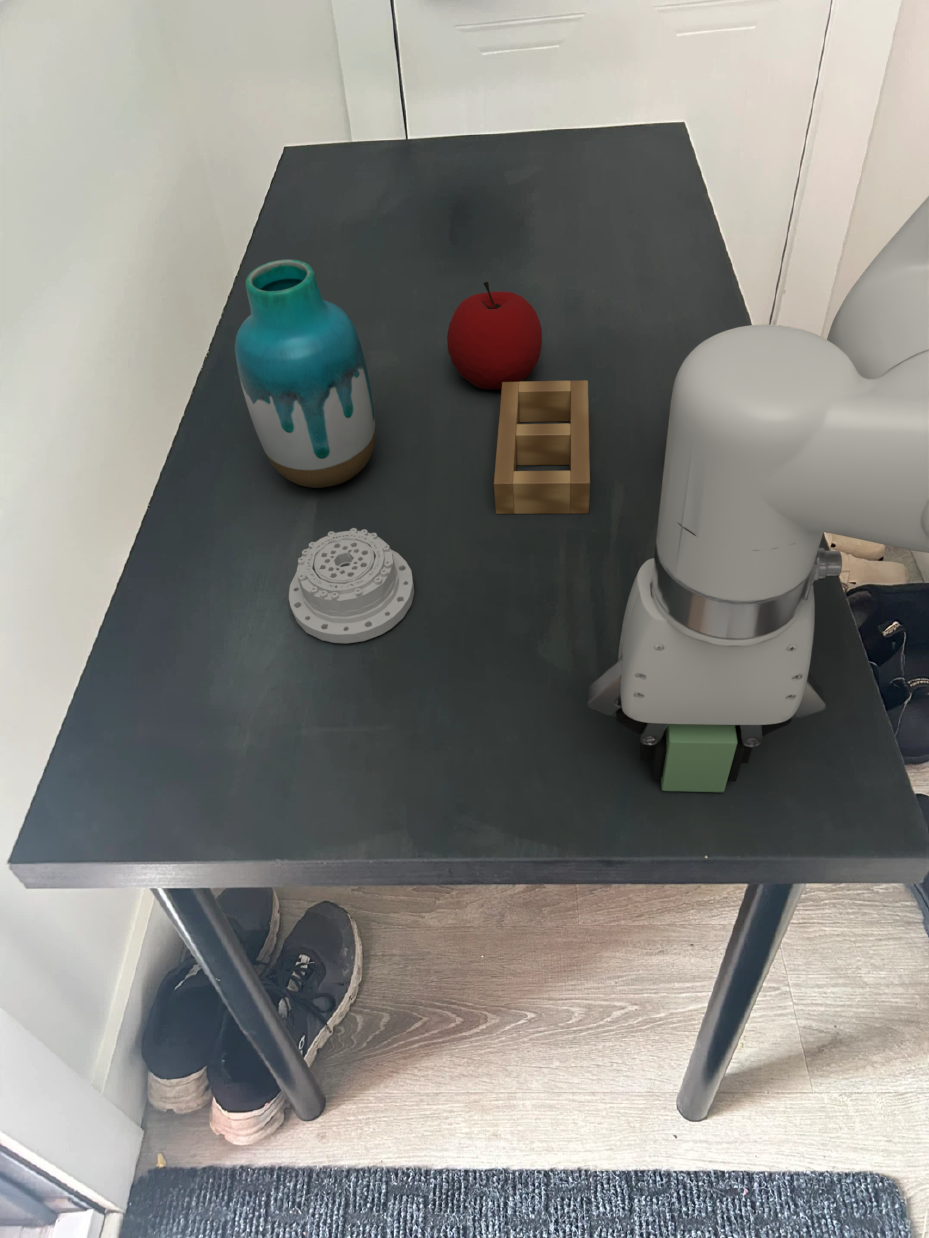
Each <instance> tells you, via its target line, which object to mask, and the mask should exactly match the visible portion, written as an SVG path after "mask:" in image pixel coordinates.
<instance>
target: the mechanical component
mask: <svg viewBox="0 0 929 1238" xmlns="http://www.w3.org/2000/svg"><path fill="white" fill-rule="evenodd" d="M414 596H415V585H414V578H413V571H412V569H411V567H410V565H409V564H408V562H407V560H405V559H404V558H403V557H402V555H400V553H399V552H397V551H394V550H393V549H391V546H390V545H389V544H388V543H387V542H386V541H384V540H383V539H382V538H381V537H379V536H378V534H377V533H376V532H368V530H367V529H365V528H364V529H361V530H358V529H357V528H356V527H352V528H350V529H349V530H344V531H338V532H335V531H331V530H330V531H329V532H327V535H326V536H323V537H321V538H319V539H318V540H316V541H311V542H309V543H308V548H306V549H305V548H304V549H303V550H301V557H299V558H297V568H296V572H295V574H294V576H293V578H292V580H291V582H290V585H289V589H288V601H289V605H290V609H291V611H292V614H293V616H294V619H295V621H296V624H298V625H299V626H300V628H301V629H302V630H303V631H304V632H305V633H306V634H308V635H310V636H312V637H314V638H316V639H319V640H320V641H323V642H328V643H332V644H333V643H334V644H352V643H359V642H365V641H368V640H371V639H373V638H377V637H378V636H379V637H380V636H381V635H383V634H385V633H386V632H388V631H390V630H391V629H393V628H394V627H395V626H396V625H397V624H399V622H400V621H402V620H403V619H404V618H405V616H406V614H407V613H408V611H409V610H410V608H411V606H412V604H413V600H414Z"/></svg>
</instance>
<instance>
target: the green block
mask: <svg viewBox="0 0 929 1238" xmlns="http://www.w3.org/2000/svg"><path fill="white" fill-rule="evenodd" d="M665 734H666V747H667V748H666V756H665V763H664V769H663V775H662V778H660V786H661V787H660V788H661V791H662V792H663V791H664V792H693V793H695V792H697V793H724V792H725V790H726V786H727V783H728V781H727V780H728V776H729V772H730V768H731V765H732V761H733V757H734V753H735V750H736V746H737V736H736V729H735V725H704V724H669V725H668V726H667V728H666V730H665Z"/></svg>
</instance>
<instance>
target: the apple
mask: <svg viewBox="0 0 929 1238" xmlns="http://www.w3.org/2000/svg"><path fill="white" fill-rule="evenodd" d="M483 286H484V288H485V289H486V291H487V292H480V293H475V294H473V295H470V296H469V297H467V298H465V299H464V300H462V301H461V302H460V303H459V305H458V306H457V307H456V309H455V310H454V312H453V314H452V316H451V319H450V321H449V323H448V327H447V328H448V330H447V334H446V342H447V345H446V346H447V352H448V355H449V357H450V360H451V363H452V365H453V366H454V369H455V370H456V371H457V372H458V374H460V376H461V377H462V378H463V379H465V380H466V381H467V382H469V383H470V384H471V385H473V386H475V387H477V388H478V389H482V390H499V391H500V390H502V382H524V381H525V380H526V379H527V377H529V376H530V375H531V374H532V372H533V370H534V369H535V368H536V365H538V362H539V360H540V357H541V352H542V346H543V329H542V325H541V320H540V318H539V316H538V314H537V311H536V310H535V308H534V307H533V305H532V304H531V303H530V302H529V301H528V300H526V298H525V297H523V296H522V295H520V294H518V293H515V292H512V291H490V284H489V281H484V282H483Z"/></svg>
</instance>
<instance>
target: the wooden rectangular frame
mask: <svg viewBox="0 0 929 1238" xmlns="http://www.w3.org/2000/svg"><path fill="white" fill-rule="evenodd" d="M500 392H501V393H500V403H499V405H500V407H499V414H498V415H499V416H498V428H497V438H496V440H497V441H496V451H495V464H494V475H493V477H494V478H493V492H494V508H495V514H496V515H514V514H515V515H548V514H549V515H554V514H555V515H559V514H561V515H562V514H564V515H566V514H569V515H570V514H573V515H576V514H578V515H579V514H580V515H581V514H582V515H583V514H586V515H587V514H589V513H590V494H591V461H590V460H591V459H590V457H591V456H590V416H589V415H590V414H589V412H590V411H589V381H588V380H583V379H581V380H536V381H535V380H534V381H533V380H530V381H525V380H524V381H522V382H502V389H501V391H500ZM547 422H548V423H547ZM550 422H552V423H550ZM554 422H558V423H554ZM559 422H568V423H559ZM518 466H569V470H518Z"/></svg>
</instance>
